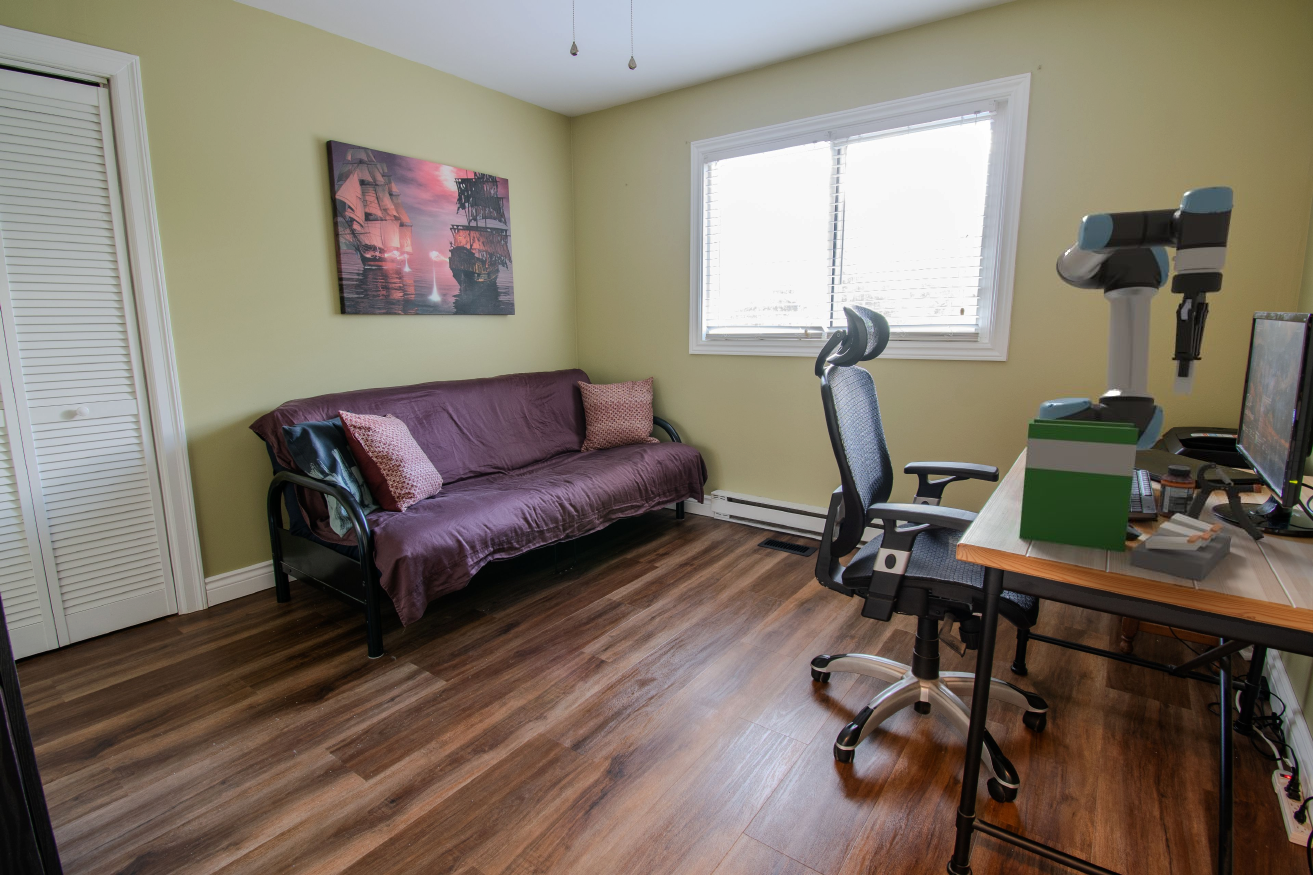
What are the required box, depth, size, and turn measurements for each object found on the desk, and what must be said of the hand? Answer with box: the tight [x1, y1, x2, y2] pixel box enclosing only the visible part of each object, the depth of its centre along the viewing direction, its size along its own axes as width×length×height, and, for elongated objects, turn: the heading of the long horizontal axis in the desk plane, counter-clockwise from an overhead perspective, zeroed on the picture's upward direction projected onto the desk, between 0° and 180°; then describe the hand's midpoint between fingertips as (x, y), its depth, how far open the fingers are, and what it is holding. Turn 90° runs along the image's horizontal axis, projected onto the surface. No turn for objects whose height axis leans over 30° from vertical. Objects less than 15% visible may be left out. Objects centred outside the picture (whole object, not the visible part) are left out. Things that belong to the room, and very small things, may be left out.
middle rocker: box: [1157, 521, 1213, 547], centre depth 118 cm, size 4×7×2 cm, turn 39°
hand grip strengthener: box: [1186, 462, 1265, 542], centre depth 129 cm, size 2×12×15 cm, turn 51°
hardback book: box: [1018, 417, 1139, 553], centre depth 128 cm, size 18×7×24 cm, turn 60°
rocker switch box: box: [1130, 530, 1233, 582], centre depth 121 cm, size 27×10×3 cm, turn 129°
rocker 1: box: [1145, 535, 1202, 550], centre depth 114 cm, size 4×7×2 cm, turn 39°
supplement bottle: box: [1157, 464, 1196, 519], centre depth 144 cm, size 6×6×11 cm
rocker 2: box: [1168, 513, 1223, 539], centre depth 123 cm, size 4×7×2 cm, turn 39°
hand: (1182, 393), depth 128 cm, fingers closed
